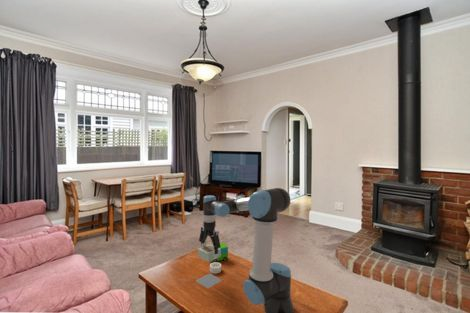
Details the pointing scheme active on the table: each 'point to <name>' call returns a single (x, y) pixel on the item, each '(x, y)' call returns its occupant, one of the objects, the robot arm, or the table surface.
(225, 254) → the toy car
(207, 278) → the mat
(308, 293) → the table surface
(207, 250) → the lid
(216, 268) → the bowl
